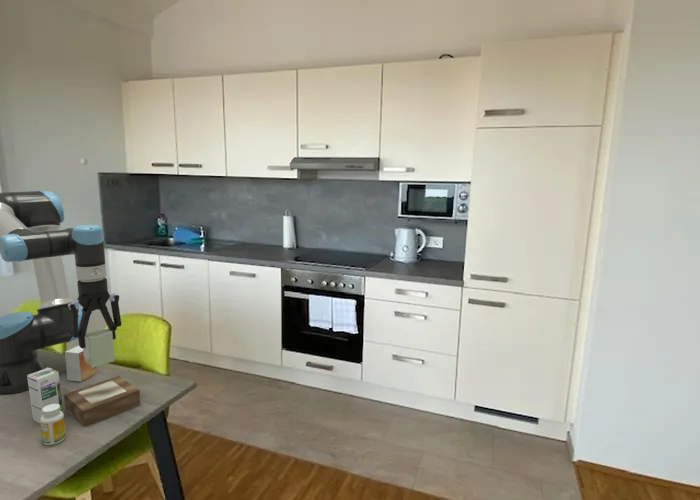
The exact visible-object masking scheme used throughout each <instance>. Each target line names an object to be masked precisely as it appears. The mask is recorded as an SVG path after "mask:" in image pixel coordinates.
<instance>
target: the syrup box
mask: <svg viewBox="0 0 700 500" xmlns="http://www.w3.org/2000/svg"><path fill="white" fill-rule="evenodd" d="M59 373H60V372H59V371H58V370H56V369H54V368H51V367H46V368H44V369H43V370H40V371H38V372H35V373H32V374H29V375H27V379H28V386H29V390H28V392H29V398H30V406H31V411H32V412H31V413H32V419H33V421H34V422H35V423H37V424H39V425H40V418H41V417H42V415H43V414H42V409H43V408H44V407H45V406H47V405H50V404H59V405H60V411H62V412H63V414H65V413H64V407H63V398H62V389H61V383H60V382H61V381H60V374H59Z"/></svg>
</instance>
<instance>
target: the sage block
mask: <svg viewBox="0 0 700 500" xmlns="http://www.w3.org/2000/svg"><path fill="white" fill-rule="evenodd" d="M107 329H108V328H104V327H100V328H97V329H93V330H89V331H86V335H85V336H87V337H88V341H89V351H90V358H89V359H87V358H85V357H84V358H85V362H86V363H88V364H89V365H90V366H92V367H93V368H94V367H97V368H98V367H100V366H102V365H106V364H109V363H113V362H115V349H114V348H113V347H114V340H113V337H112V332H110V331H108V330H107Z"/></svg>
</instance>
